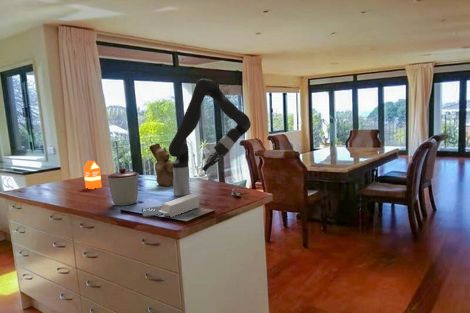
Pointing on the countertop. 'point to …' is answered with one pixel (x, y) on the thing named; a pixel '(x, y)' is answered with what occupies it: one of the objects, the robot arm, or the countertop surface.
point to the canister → (123, 187)
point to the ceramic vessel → (162, 165)
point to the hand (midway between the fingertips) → (203, 170)
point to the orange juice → (92, 175)
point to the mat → (152, 213)
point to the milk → (180, 205)
